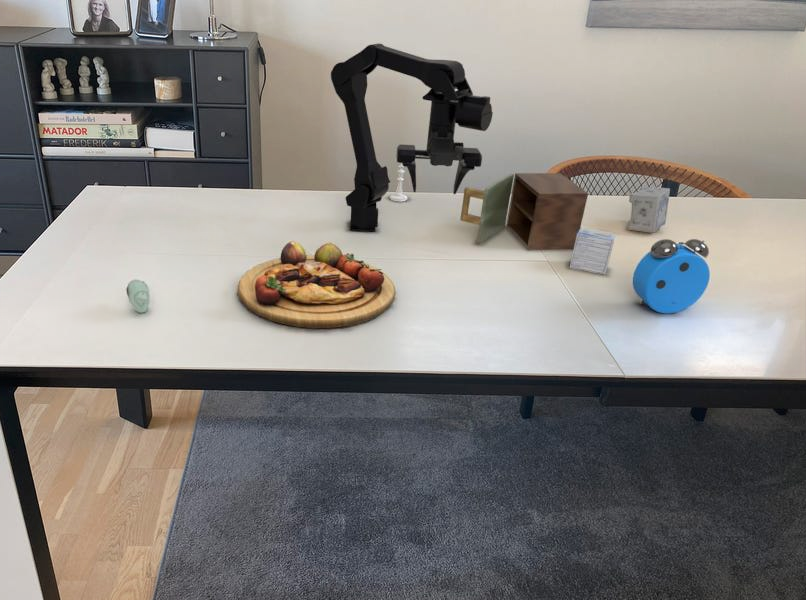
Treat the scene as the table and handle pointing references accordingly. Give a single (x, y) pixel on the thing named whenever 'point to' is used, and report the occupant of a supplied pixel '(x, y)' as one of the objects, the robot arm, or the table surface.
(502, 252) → the table surface
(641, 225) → the incense holder
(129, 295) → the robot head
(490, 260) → the table surface
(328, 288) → the wooden plate
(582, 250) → the medicine box
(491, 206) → the door
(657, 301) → the alarm clock
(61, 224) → the table surface
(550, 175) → the cupboard
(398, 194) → the chess piece
